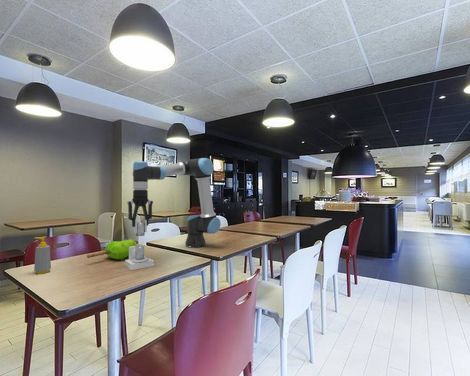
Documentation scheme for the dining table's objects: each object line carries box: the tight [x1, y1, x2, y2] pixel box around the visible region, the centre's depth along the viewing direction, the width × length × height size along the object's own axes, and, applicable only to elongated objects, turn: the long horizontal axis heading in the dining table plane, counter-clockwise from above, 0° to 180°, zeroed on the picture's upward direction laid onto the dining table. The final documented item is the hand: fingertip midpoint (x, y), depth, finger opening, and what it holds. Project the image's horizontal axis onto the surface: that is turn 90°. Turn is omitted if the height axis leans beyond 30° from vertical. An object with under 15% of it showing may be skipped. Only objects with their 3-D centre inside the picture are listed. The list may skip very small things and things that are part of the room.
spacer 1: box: [135, 221, 146, 237], centre depth 142 cm, size 5×5×7 cm
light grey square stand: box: [124, 244, 155, 271], centre depth 143 cm, size 12×12×10 cm
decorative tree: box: [86, 238, 138, 261], centre depth 157 cm, size 18×10×30 cm
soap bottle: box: [33, 236, 52, 275], centre depth 132 cm, size 7×7×18 cm
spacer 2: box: [135, 244, 145, 260], centre depth 142 cm, size 5×5×7 cm
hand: (140, 232), depth 142 cm, fingers closed on spacer 1, 4 cm apart
